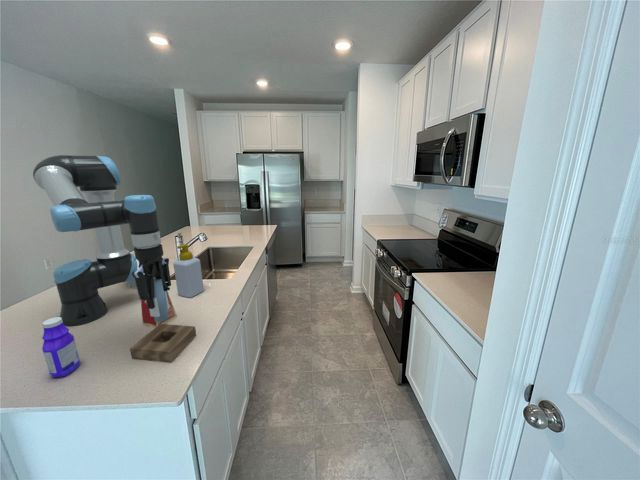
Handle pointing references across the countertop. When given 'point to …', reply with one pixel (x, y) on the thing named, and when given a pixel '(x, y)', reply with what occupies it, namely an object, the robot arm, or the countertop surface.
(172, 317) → the milk carton
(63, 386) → the countertop surface
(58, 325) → the bottle
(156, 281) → the peg
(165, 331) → the socket block
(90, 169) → the robot arm
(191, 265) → the soap bottle
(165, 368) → the countertop surface
